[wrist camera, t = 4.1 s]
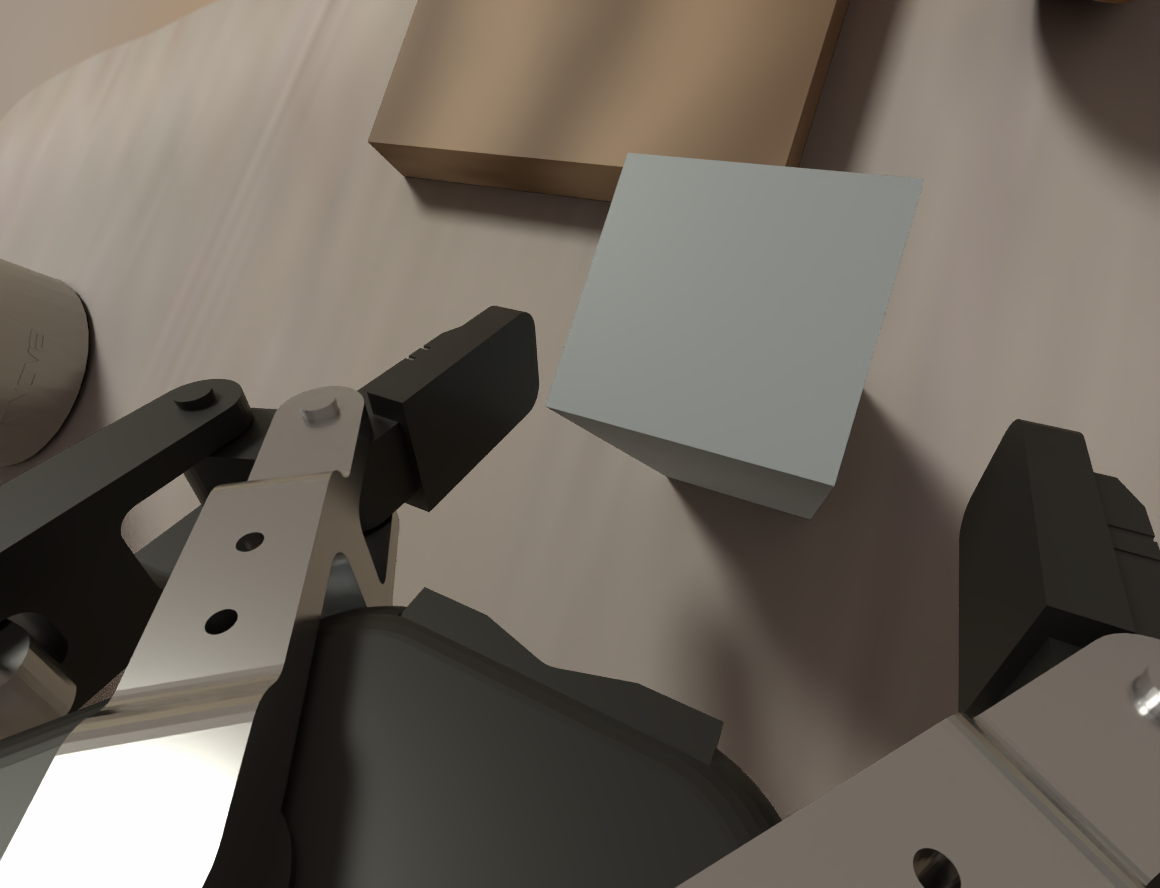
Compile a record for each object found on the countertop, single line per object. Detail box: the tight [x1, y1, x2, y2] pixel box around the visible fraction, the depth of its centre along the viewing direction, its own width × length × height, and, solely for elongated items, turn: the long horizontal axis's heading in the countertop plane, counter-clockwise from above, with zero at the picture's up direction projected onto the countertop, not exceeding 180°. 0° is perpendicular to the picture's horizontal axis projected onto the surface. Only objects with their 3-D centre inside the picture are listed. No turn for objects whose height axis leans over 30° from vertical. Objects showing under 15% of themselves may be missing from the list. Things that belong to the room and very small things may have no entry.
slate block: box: [545, 153, 924, 520], centre depth 12 cm, size 4×4×9 cm
